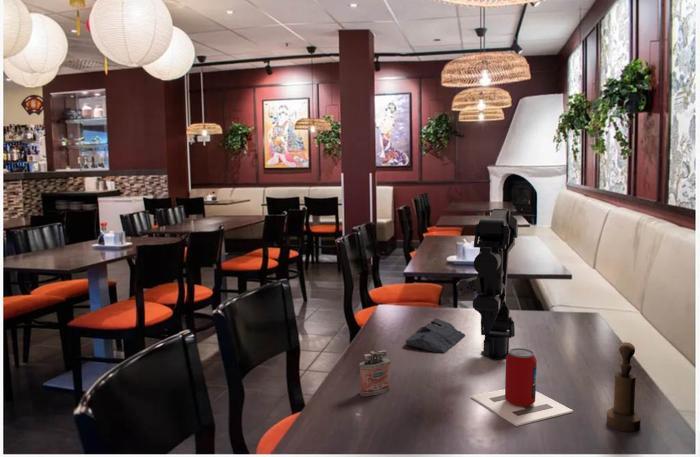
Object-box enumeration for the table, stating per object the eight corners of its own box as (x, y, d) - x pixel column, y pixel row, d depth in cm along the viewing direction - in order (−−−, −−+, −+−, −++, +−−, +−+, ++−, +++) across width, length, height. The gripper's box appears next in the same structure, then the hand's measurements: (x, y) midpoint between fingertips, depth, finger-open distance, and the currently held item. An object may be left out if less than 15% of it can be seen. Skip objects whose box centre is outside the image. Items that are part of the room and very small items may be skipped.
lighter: (363, 397, 137) (363, 356, 135) (357, 392, 140) (356, 352, 138) (392, 390, 140) (392, 351, 139) (385, 385, 143) (385, 347, 142)
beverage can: (541, 405, 130) (543, 354, 129) (517, 410, 128) (518, 358, 126) (522, 394, 136) (524, 345, 135) (498, 398, 134) (500, 349, 132)
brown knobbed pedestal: (600, 418, 125) (604, 338, 122) (628, 417, 125) (633, 337, 123) (617, 433, 118) (621, 348, 116) (646, 431, 119) (651, 347, 116)
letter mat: (524, 386, 142) (524, 384, 142) (573, 412, 128) (573, 410, 128) (471, 397, 136) (471, 395, 136) (516, 426, 121) (516, 423, 121)
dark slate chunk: (396, 348, 173) (396, 333, 172) (423, 329, 192) (423, 315, 191) (445, 356, 165) (445, 340, 165) (468, 335, 185) (468, 321, 184)
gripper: (465, 260, 157) (464, 315, 159) (452, 273, 140) (451, 335, 141) (507, 262, 153) (505, 319, 155) (499, 276, 136) (497, 340, 138)
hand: (489, 328), depth 147 cm, fingers open, 9 cm apart
